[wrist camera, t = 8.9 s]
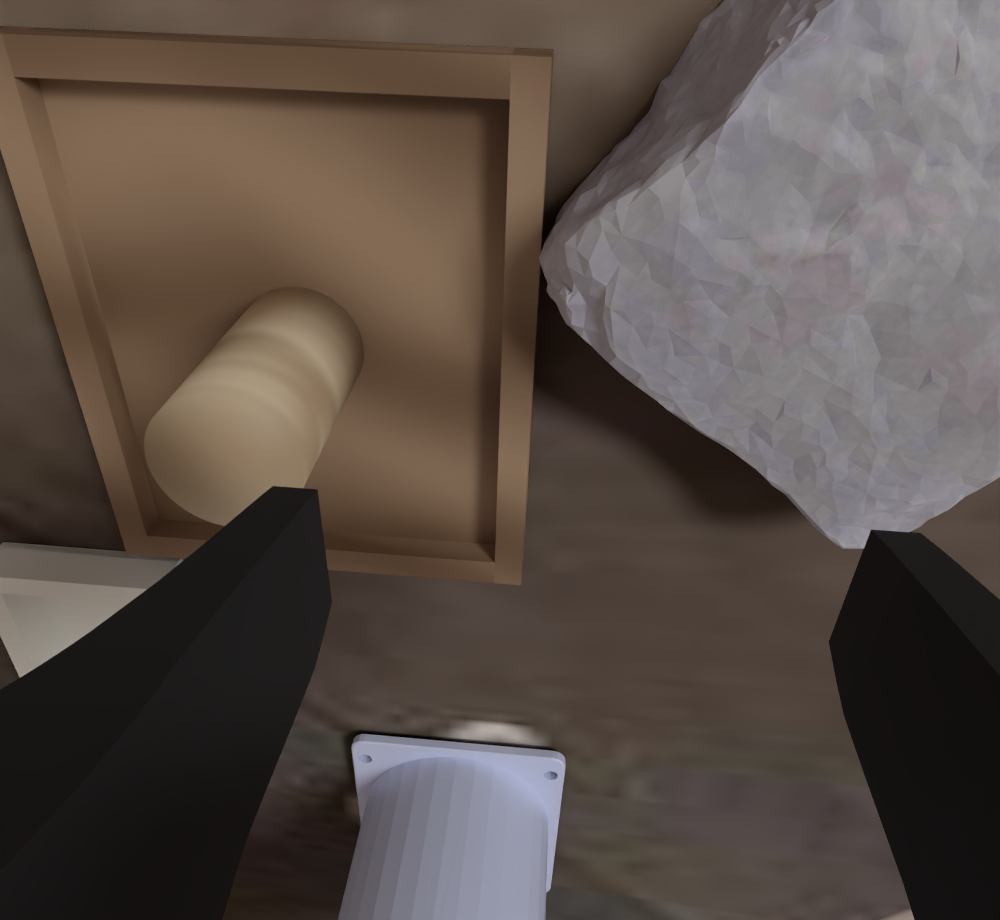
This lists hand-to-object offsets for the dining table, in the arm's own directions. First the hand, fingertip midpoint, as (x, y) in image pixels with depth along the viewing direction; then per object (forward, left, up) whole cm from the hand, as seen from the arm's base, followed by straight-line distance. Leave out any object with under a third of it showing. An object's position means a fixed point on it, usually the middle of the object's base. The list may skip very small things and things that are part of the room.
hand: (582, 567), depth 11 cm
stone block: (+1, -6, -11) cm, 13 cm away
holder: (-13, +15, -10) cm, 22 cm away
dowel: (-2, +7, -10) cm, 12 cm away
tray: (-2, +7, -10) cm, 13 cm away
